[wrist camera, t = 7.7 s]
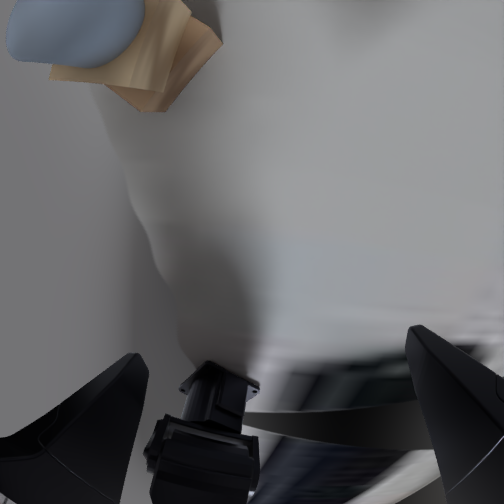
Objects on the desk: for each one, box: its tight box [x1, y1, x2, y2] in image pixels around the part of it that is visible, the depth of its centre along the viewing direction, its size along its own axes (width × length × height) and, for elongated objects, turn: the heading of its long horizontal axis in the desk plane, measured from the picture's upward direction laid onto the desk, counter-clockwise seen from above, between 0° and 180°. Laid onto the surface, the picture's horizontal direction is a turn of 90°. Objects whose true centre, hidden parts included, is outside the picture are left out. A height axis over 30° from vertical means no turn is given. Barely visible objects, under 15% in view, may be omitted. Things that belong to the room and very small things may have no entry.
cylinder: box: [6, 0, 145, 68], centre depth 7 cm, size 4×4×4 cm
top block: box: [49, 0, 192, 93], centre depth 10 cm, size 5×5×4 cm
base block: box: [104, 15, 223, 112], centre depth 14 cm, size 6×6×4 cm
